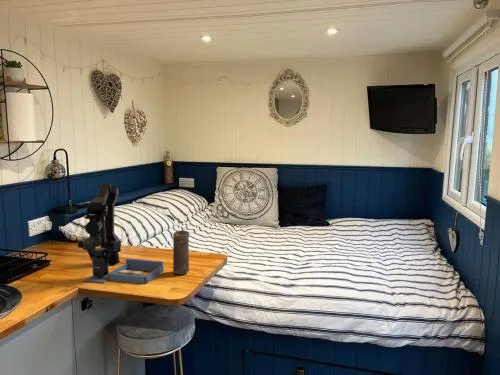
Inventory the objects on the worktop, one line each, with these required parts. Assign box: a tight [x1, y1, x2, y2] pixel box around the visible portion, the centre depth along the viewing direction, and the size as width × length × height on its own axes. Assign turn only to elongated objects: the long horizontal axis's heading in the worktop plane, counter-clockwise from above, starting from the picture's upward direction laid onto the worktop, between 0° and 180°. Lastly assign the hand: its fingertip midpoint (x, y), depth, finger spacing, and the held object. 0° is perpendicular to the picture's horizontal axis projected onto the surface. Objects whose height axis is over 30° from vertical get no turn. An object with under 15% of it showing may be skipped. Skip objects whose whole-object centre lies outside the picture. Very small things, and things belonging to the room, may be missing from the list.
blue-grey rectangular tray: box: [108, 258, 164, 285], centre depth 177 cm, size 19×16×5 cm
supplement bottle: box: [91, 247, 110, 277], centre depth 173 cm, size 7×7×12 cm
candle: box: [172, 230, 190, 275], centre depth 179 cm, size 8×7×20 cm
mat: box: [83, 274, 110, 284], centre depth 174 cm, size 10×10×1 cm
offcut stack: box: [118, 269, 144, 276], centre depth 172 cm, size 13×3×4 cm, turn 77°
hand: (100, 262), depth 173 cm, fingers closed on supplement bottle, 7 cm apart
